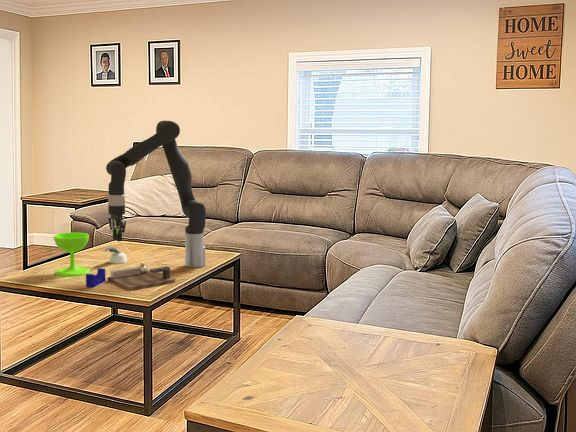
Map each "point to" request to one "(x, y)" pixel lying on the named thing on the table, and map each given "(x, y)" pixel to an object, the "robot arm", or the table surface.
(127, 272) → the link
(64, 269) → the wineglass
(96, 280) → the cable clip
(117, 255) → the inkwell
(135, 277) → the board
